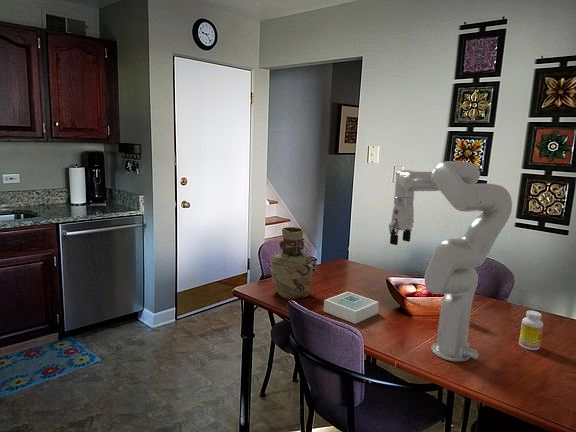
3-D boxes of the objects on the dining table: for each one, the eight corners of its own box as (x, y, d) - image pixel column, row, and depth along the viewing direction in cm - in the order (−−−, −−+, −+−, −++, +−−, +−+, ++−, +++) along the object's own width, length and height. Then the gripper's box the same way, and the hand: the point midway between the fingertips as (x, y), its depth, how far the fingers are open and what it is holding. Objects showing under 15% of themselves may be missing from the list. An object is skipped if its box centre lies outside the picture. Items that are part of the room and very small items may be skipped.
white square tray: (377, 313, 181) (378, 302, 180) (354, 323, 170) (355, 311, 169) (347, 302, 192) (347, 291, 191) (323, 311, 181) (324, 300, 180)
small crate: (362, 310, 181) (362, 299, 180) (352, 314, 176) (353, 302, 175) (349, 305, 185) (350, 294, 184) (340, 309, 181) (340, 298, 180)
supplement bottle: (539, 352, 152) (544, 318, 150) (518, 347, 155) (522, 313, 153) (540, 345, 158) (545, 312, 155) (519, 340, 161) (524, 307, 159)
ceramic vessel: (314, 302, 190) (318, 236, 185) (267, 298, 192) (269, 232, 187) (316, 288, 209) (319, 227, 204) (273, 284, 211) (275, 224, 206)
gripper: (400, 204, 165) (396, 247, 169) (422, 200, 178) (418, 241, 181) (383, 201, 171) (380, 243, 174) (406, 198, 183) (402, 238, 186)
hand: (400, 242), depth 177 cm, fingers open, 9 cm apart
